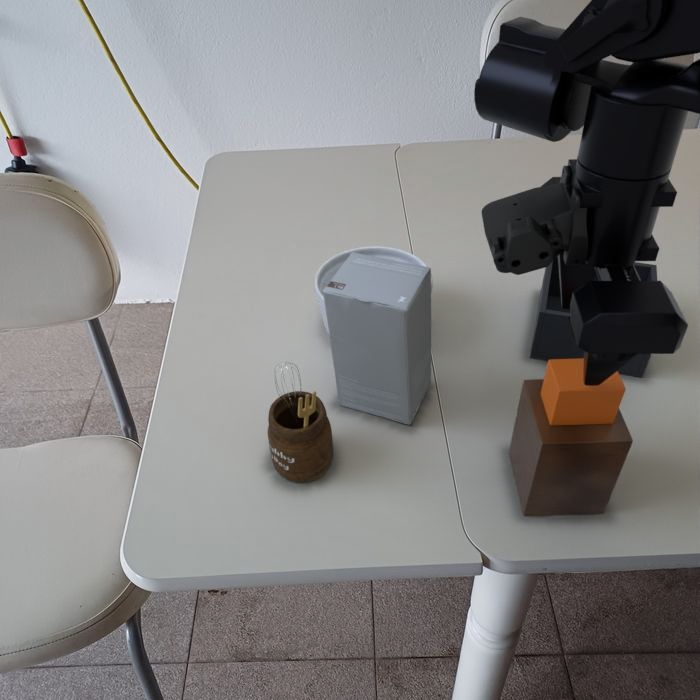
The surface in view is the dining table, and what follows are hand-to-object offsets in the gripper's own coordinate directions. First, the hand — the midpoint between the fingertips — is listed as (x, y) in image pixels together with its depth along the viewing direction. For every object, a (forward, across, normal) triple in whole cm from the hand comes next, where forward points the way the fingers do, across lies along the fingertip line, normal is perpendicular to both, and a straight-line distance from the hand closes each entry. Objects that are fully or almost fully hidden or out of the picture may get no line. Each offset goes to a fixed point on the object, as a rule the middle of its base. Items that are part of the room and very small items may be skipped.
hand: (578, 343), depth 52 cm
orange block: (+4, +3, 0) cm, 5 cm away
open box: (+14, -18, +7) cm, 24 cm away
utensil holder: (+14, +1, -24) cm, 27 cm away
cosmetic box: (+14, -7, -16) cm, 23 cm away
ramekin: (+14, -19, -18) cm, 29 cm away
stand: (+14, +3, 0) cm, 15 cm away
